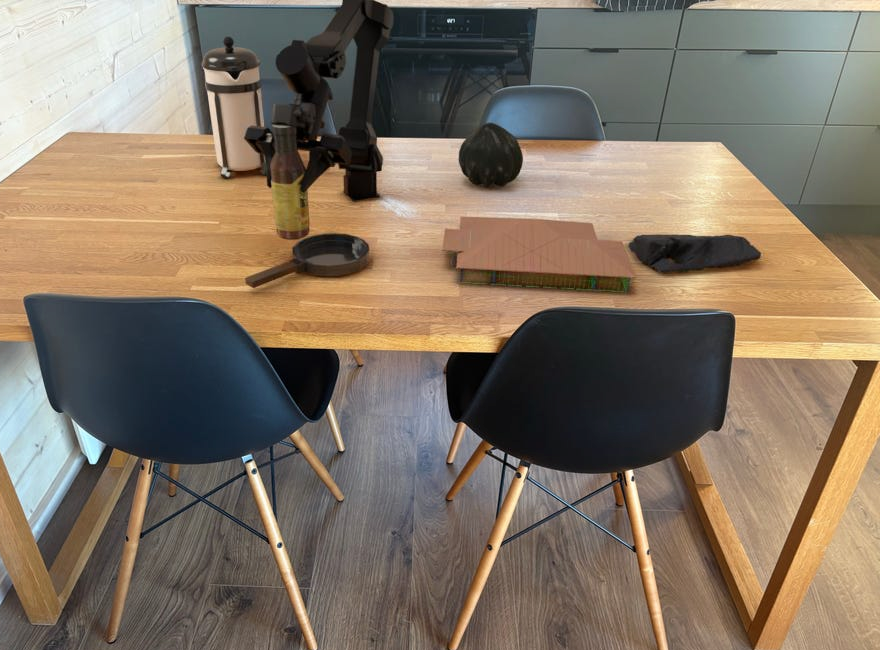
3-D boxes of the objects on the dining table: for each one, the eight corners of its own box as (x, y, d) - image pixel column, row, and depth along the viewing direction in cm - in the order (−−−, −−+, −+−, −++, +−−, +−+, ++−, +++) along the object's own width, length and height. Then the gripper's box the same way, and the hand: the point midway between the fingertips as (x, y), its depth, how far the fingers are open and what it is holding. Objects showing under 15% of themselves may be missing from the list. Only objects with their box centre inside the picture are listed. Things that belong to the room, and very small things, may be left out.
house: (445, 231, 141) (447, 192, 136) (612, 239, 138) (620, 200, 134) (439, 283, 122) (441, 240, 117) (632, 294, 119) (642, 250, 115)
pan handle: (296, 266, 125) (295, 257, 124) (305, 271, 124) (305, 262, 123) (245, 286, 119) (244, 277, 118) (254, 292, 117) (253, 282, 116)
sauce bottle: (310, 241, 126) (302, 130, 115) (275, 242, 126) (264, 130, 114) (310, 226, 132) (303, 118, 120) (277, 227, 131) (266, 119, 120)
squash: (515, 146, 171) (481, 102, 162) (543, 167, 159) (509, 121, 150) (472, 187, 174) (436, 146, 164) (497, 211, 162) (461, 168, 153)
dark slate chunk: (769, 272, 126) (778, 248, 124) (652, 276, 125) (658, 252, 122) (729, 238, 139) (736, 215, 137) (622, 241, 137) (626, 218, 135)
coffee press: (289, 166, 174) (279, 34, 157) (245, 184, 162) (228, 44, 146) (237, 153, 181) (222, 27, 165) (191, 170, 170) (170, 36, 153)
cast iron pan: (352, 240, 137) (352, 228, 135) (381, 269, 126) (381, 256, 125) (283, 252, 132) (282, 240, 130) (307, 284, 121) (306, 271, 120)
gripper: (242, 77, 120) (217, 161, 117) (342, 87, 115) (318, 174, 112) (269, 113, 130) (246, 190, 128) (361, 123, 125) (339, 203, 123)
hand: (285, 189), depth 122 cm, fingers closed on sauce bottle, 6 cm apart
